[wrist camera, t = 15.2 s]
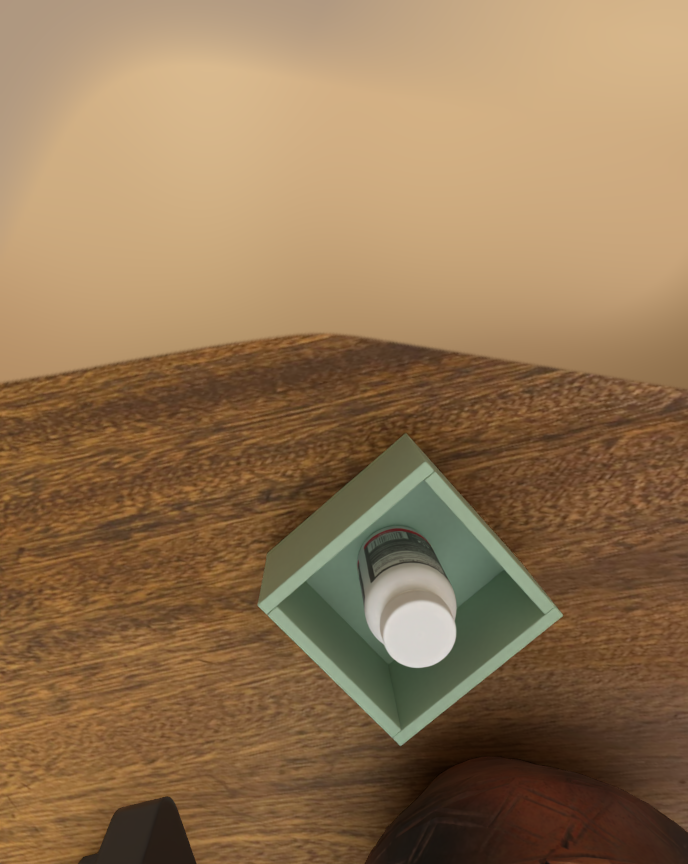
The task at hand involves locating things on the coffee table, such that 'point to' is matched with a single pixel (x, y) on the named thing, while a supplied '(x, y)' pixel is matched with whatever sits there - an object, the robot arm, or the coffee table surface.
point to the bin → (343, 604)
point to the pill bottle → (407, 596)
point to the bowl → (527, 820)
